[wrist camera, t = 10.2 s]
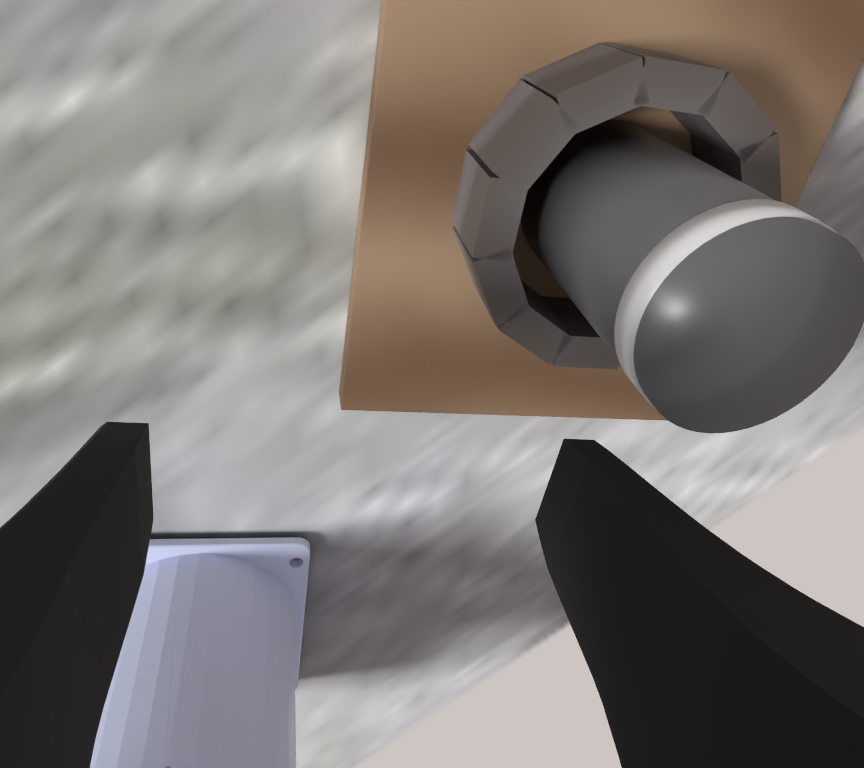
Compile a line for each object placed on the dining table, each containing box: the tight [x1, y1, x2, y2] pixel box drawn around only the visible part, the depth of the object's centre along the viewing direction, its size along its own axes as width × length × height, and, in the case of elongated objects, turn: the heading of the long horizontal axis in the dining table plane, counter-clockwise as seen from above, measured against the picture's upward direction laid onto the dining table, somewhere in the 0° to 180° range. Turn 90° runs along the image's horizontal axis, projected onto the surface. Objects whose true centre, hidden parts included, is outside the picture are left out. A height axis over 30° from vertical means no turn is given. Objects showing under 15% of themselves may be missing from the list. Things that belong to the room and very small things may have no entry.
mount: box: [339, 0, 864, 420], centre depth 18 cm, size 15×13×4 cm
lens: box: [521, 120, 864, 433], centre depth 16 cm, size 4×4×8 cm
